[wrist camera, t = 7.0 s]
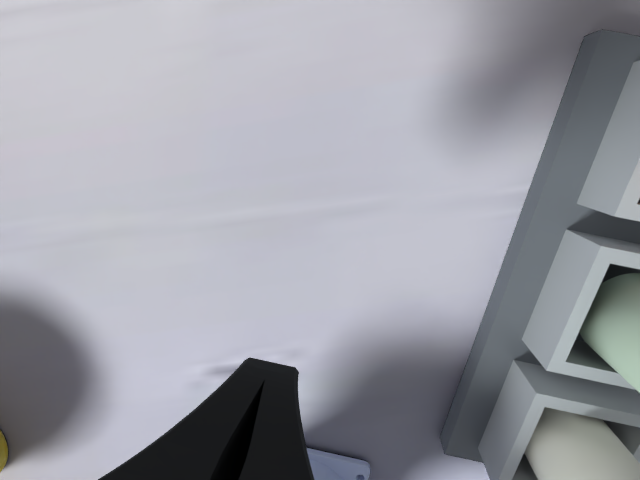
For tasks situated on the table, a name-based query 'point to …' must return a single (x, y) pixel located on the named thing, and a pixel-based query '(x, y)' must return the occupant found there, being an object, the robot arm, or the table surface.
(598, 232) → the button panel
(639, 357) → the sage button
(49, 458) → the table surface
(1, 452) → the plant pot
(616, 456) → the cream button
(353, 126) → the table surface
